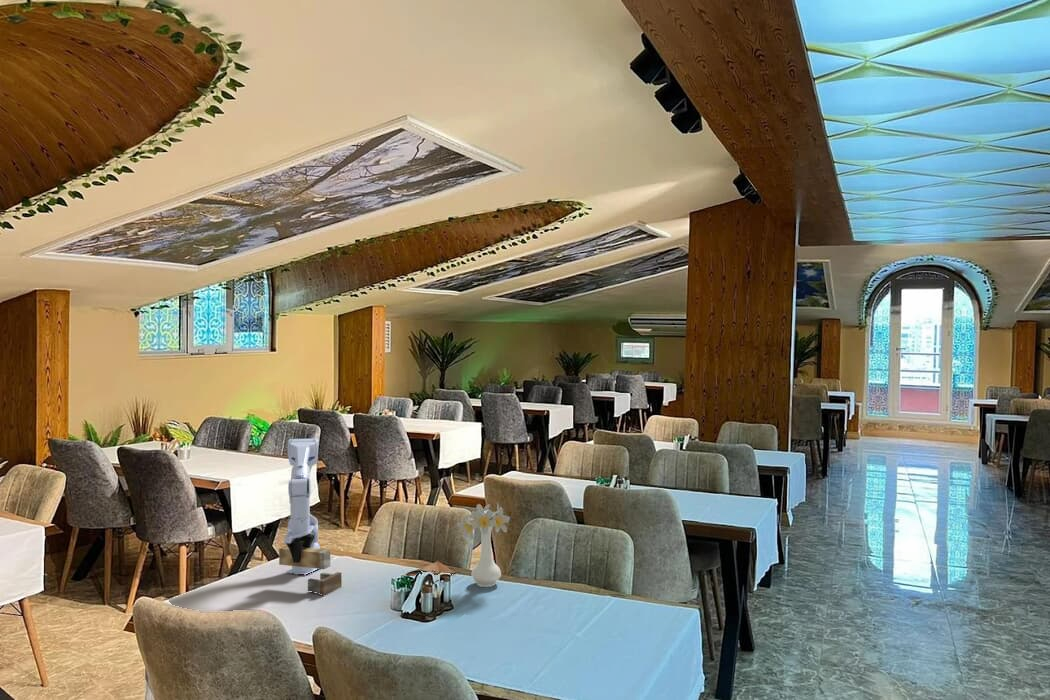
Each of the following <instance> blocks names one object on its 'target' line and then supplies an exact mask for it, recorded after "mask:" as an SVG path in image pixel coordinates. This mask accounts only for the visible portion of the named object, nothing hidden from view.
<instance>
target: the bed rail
mask: <svg viewBox="0 0 1050 700" xmlns="http://www.w3.org/2000/svg"><path fill="white" fill-rule="evenodd" d="M278 555H279V556H278V557H279V558H278V559H279V560H278V561H279V563H278V564H279V565H281V566H289V567H292V566H298V567H307V568H317V569H319V570H325V569H327V568H330V567H331V549H325V548H324V549H323V548H320V549H314V548H304V547H302V551H301V561H300V562H299V563H296V562H293V559H292V555H291V552H290V550H289V548H288V546H287V545H284V546H282V547H280V548H279V549H278Z"/></svg>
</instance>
